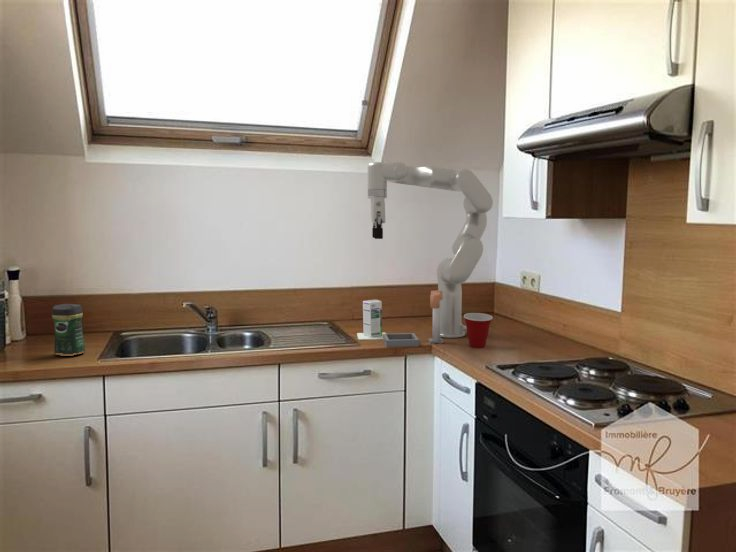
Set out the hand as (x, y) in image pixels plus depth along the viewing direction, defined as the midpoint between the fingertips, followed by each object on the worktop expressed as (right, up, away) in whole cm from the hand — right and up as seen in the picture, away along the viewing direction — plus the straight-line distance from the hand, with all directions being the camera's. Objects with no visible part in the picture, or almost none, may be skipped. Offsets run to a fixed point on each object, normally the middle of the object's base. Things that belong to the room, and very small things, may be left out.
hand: (377, 238), depth 231 cm
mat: (-2, -40, +8) cm, 41 cm away
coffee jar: (-111, -44, -20) cm, 121 cm away
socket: (+14, -41, -4) cm, 43 cm away
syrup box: (-2, -39, +8) cm, 40 cm away
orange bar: (+21, -25, -15) cm, 36 cm away
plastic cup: (+37, -42, -11) cm, 57 cm away
